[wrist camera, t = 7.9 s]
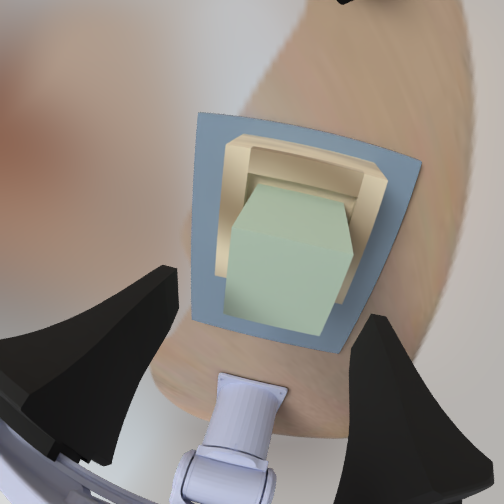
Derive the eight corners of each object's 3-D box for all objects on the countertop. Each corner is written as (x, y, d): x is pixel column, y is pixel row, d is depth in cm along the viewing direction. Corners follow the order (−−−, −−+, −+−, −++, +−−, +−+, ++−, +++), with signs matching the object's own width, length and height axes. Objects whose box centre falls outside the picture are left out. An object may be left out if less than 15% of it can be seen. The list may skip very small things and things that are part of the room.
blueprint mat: (338, 350, 25) (338, 353, 24) (193, 316, 26) (191, 319, 26) (419, 160, 15) (421, 162, 14) (200, 112, 16) (198, 112, 16)
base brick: (339, 270, 20) (341, 304, 17) (230, 245, 20) (214, 275, 17) (374, 162, 15) (388, 180, 12) (243, 133, 16) (225, 144, 13)
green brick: (321, 272, 16) (319, 336, 12) (247, 255, 17) (223, 313, 13) (343, 202, 14) (353, 254, 10) (258, 183, 14) (231, 226, 10)
